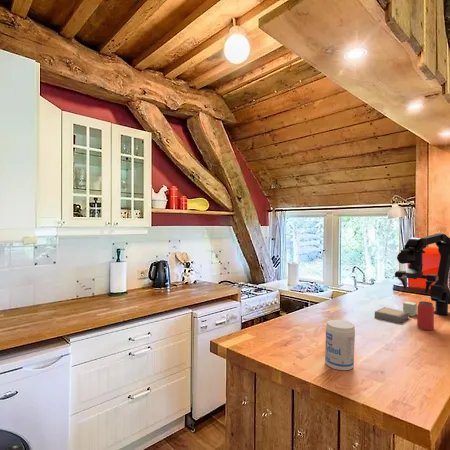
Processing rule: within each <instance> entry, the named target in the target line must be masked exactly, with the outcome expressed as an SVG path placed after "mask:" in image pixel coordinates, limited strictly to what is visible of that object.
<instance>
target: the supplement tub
mask: <svg viewBox="0 0 450 450" xmlns="http://www.w3.org/2000/svg"><path fill="white" fill-rule="evenodd" d="M325 326H326V327H325V346H324V347H325V351H324V354H325V355H324V359H325V360H324V361H325V362H324V363H325V365H327V366H328V367H329V368H331V369H334V370H339V371H348V370H352V369H353V368H354V366H355V365H354V364H355V345H356V344H355V337H356V329H355V324H354V323H352V322H350V321H348V320H343V319H342V320H341V319H331V320H328V321H327V322H326V325H325Z"/></svg>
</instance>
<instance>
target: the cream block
mask: <svg viewBox="0 0 450 450" xmlns="http://www.w3.org/2000/svg"><path fill="white" fill-rule="evenodd" d="M402 304H403V306H402V311H405V312H408V316H411V317H414V316H417V307H418V303H417V302H412V301H406V300H405V302H403V303H402Z"/></svg>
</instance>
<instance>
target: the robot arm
mask: <svg viewBox="0 0 450 450" xmlns="http://www.w3.org/2000/svg"><path fill="white" fill-rule="evenodd" d="M433 244H435V245H436V246H437V247H438V248H437V251H438V253H439V255H440V258H439V264H438V270H437V273H435V274H434V273H428V274H424V272H423V266H424V263H423V260H424V259H423V254H425V253H426V251H425V250H424V249H426V248H427V246H429V245H433ZM396 260H397V262H398V263H400V264H401V265H402V264H403V265H404V264H408V268H407V270H397V271H395V272H394V278H397V279H398V280H399V281H400V282H401V284H402V286H403V289H404V290H405V292H407V291H408V279H413V280H417V279H426V280H425V289H424V291H425V292H424V293H425V295H427V294H428V292H429V296H430V300H431V301H432V302H435V304H434V306H435V307H434V315H436V314H437V315H441V316H445V317H446V316H449V315H450V312H449V305H450V288H449V286H448V281H449V274H450V237H449V236H448V235H447V234H446V233H439V232H438V233H437V232H436V233H434V234H431V235H427V236H422V237H408V240H407V242H406V244H405V245H404V247H403V249H401V250H400V252H399V253H398V254H397V256H396ZM433 283H434V284H433ZM429 289H430V290H429Z"/></svg>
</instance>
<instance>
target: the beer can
mask: <svg viewBox="0 0 450 450" xmlns="http://www.w3.org/2000/svg"><path fill="white" fill-rule="evenodd" d="M434 311H435V307H434V303H432V302H430V301H419V302H418V303H417V314H416V316H417V317H416V327H417V328H418V329H420V330H423V331H434V329H435V327H434V326H435V323H434V322H435V313H434Z"/></svg>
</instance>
